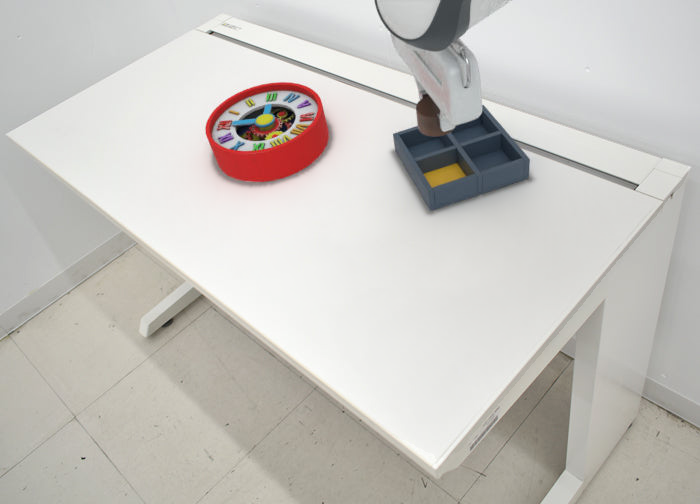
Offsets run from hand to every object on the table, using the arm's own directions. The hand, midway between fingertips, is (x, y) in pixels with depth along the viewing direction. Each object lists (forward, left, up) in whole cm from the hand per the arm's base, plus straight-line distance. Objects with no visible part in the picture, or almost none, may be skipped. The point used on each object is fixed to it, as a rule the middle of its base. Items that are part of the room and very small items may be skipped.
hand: (436, 114), depth 77 cm
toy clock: (+21, -27, -16) cm, 37 cm away
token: (0, 0, -2) cm, 2 cm away
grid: (-5, -7, -15) cm, 18 cm away
